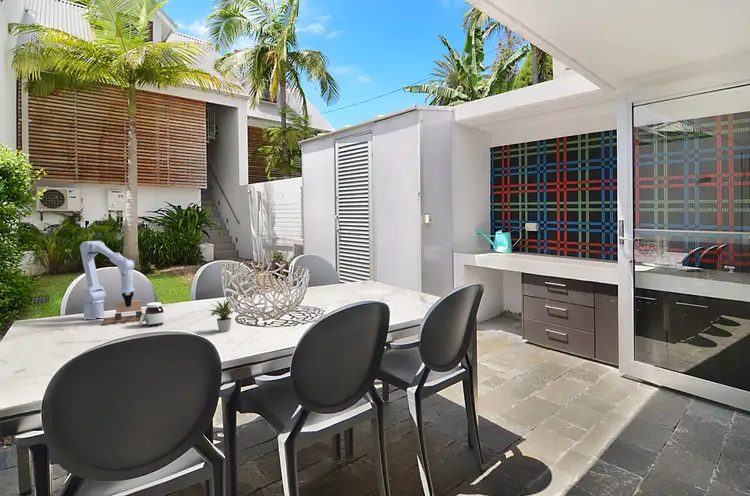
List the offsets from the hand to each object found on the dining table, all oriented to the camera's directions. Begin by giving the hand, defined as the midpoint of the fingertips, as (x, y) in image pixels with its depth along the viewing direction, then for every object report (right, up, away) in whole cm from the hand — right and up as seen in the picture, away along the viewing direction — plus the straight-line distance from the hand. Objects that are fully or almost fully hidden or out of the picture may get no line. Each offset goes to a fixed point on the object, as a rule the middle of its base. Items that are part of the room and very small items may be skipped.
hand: (128, 306), depth 235 cm
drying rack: (0, -8, +1) cm, 8 cm away
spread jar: (+18, -9, -10) cm, 22 cm away
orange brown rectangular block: (0, -3, 0) cm, 3 cm away
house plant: (+60, -10, -20) cm, 64 cm away
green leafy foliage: (+45, -7, +33) cm, 57 cm away
